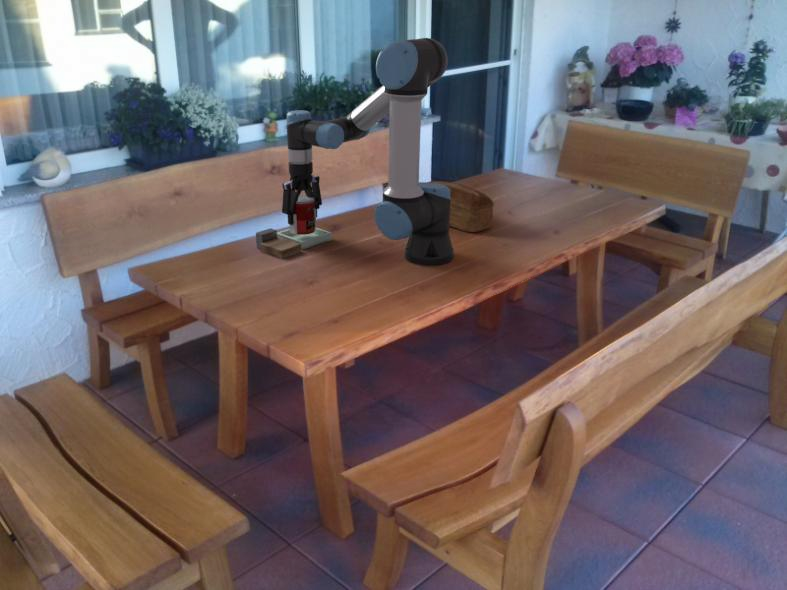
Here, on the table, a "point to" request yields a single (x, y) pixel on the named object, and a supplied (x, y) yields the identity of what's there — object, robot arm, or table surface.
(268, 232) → the bench dog
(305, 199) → the canned food
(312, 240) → the tray
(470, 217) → the bread
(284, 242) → the tan block
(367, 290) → the table surface
